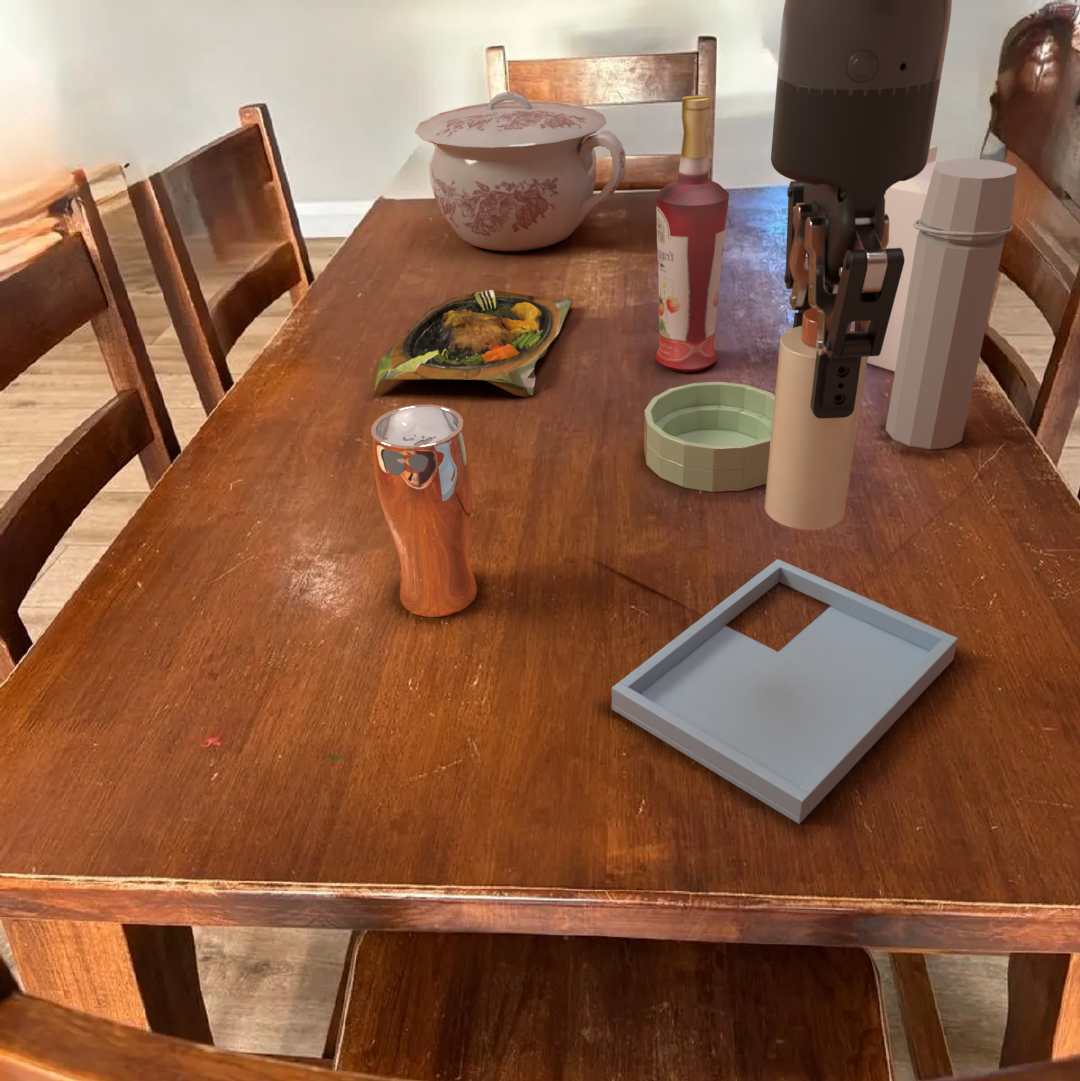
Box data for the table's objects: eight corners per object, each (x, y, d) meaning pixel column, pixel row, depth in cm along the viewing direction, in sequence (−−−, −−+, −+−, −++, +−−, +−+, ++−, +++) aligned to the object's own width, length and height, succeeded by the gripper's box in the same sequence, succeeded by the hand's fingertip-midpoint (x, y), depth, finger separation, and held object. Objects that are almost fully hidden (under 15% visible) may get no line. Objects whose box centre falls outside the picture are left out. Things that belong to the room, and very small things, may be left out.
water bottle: (973, 457, 93) (1035, 180, 79) (885, 454, 95) (930, 180, 81) (955, 412, 101) (1009, 151, 87) (874, 410, 102) (914, 152, 88)
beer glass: (382, 584, 81) (354, 417, 73) (461, 559, 84) (443, 394, 75) (413, 632, 76) (387, 458, 67) (497, 603, 78) (482, 432, 70)
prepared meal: (437, 275, 130) (574, 276, 127) (440, 301, 132) (575, 303, 129) (363, 374, 108) (526, 379, 105) (369, 403, 111) (529, 409, 107)
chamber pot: (405, 228, 160) (388, 88, 149) (563, 202, 168) (559, 67, 157) (462, 282, 139) (448, 122, 127) (641, 249, 147) (642, 96, 135)
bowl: (700, 415, 103) (703, 370, 100) (814, 456, 95) (820, 408, 92) (616, 465, 95) (616, 417, 92) (731, 513, 87) (735, 463, 85)
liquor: (728, 375, 110) (746, 101, 95) (664, 384, 109) (671, 108, 93) (705, 349, 116) (718, 87, 101) (644, 358, 115) (648, 94, 99)
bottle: (792, 480, 65) (813, 292, 58) (860, 506, 62) (890, 311, 55) (748, 511, 62) (765, 317, 55) (817, 539, 59) (844, 339, 52)
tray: (775, 579, 79) (777, 558, 78) (953, 660, 71) (958, 637, 70) (611, 709, 68) (611, 687, 67) (799, 824, 59) (802, 801, 58)
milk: (927, 356, 112) (967, 149, 100) (898, 374, 109) (935, 162, 96) (878, 342, 116) (911, 140, 104) (849, 358, 113) (878, 152, 100)
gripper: (996, 92, 42) (926, 451, 51) (893, 41, 54) (852, 340, 63) (814, 101, 42) (778, 458, 52) (751, 48, 54) (732, 346, 64)
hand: (819, 391), depth 57 cm, fingers closed on bottle, 4 cm apart
